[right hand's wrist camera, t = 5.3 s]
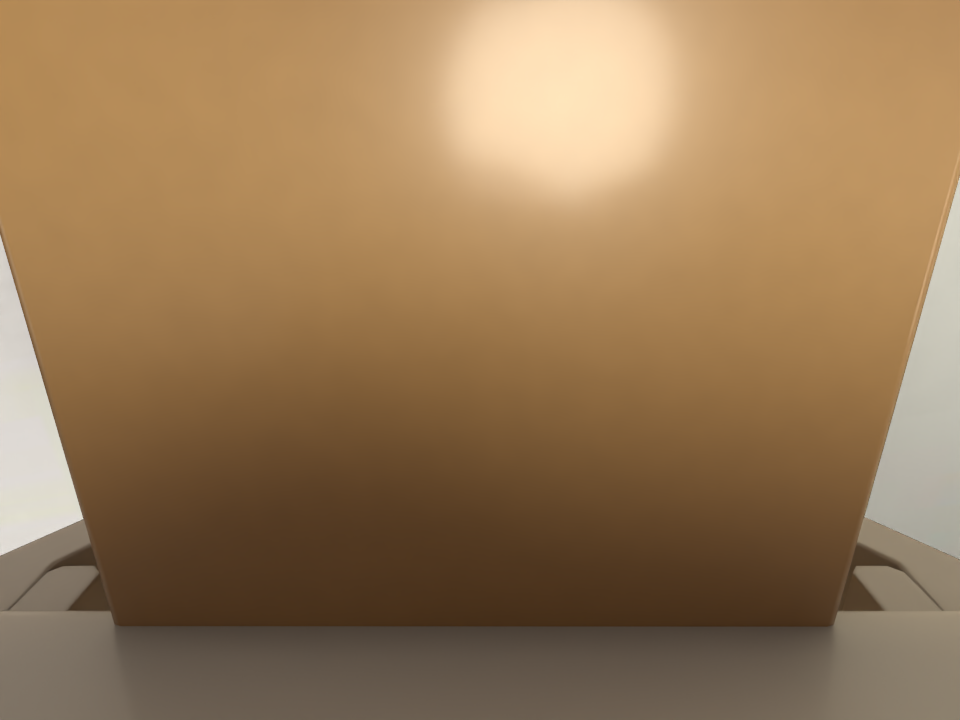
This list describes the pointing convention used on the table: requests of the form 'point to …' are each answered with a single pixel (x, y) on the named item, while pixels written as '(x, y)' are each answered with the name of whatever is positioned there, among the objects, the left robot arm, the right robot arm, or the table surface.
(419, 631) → the right robot arm
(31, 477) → the table surface
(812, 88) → the box
